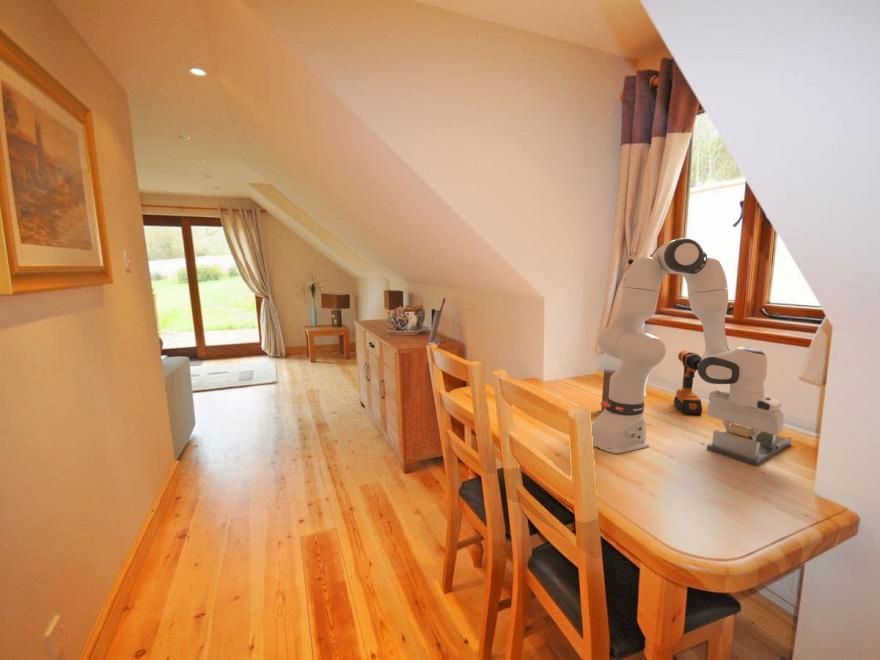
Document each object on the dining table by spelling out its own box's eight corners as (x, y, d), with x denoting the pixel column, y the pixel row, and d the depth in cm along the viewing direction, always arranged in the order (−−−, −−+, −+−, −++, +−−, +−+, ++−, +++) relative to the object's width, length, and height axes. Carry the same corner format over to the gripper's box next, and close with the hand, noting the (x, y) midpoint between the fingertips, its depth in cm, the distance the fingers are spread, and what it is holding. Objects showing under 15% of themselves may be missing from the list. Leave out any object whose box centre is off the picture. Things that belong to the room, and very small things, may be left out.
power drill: (708, 421, 159) (715, 359, 155) (687, 420, 161) (693, 358, 157) (690, 403, 180) (696, 348, 176) (672, 402, 182) (677, 347, 178)
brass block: (746, 448, 130) (748, 430, 129) (728, 442, 134) (730, 425, 133) (751, 444, 132) (753, 427, 131) (733, 439, 136) (735, 422, 135)
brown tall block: (624, 413, 168) (628, 371, 165) (624, 417, 164) (628, 374, 161) (601, 410, 172) (604, 369, 169) (601, 413, 168) (603, 371, 165)
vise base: (756, 466, 124) (759, 446, 123) (706, 449, 136) (708, 430, 135) (790, 444, 139) (793, 426, 138) (743, 430, 151) (745, 413, 150)
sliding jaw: (771, 448, 132) (774, 428, 131) (729, 435, 142) (731, 417, 141) (786, 439, 139) (789, 420, 138) (745, 427, 149) (747, 410, 148)
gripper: (705, 390, 137) (701, 429, 139) (780, 408, 120) (774, 451, 123) (714, 387, 141) (710, 425, 143) (788, 404, 124) (782, 446, 126)
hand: (740, 437), depth 133 cm, fingers closed on brass block, 5 cm apart
